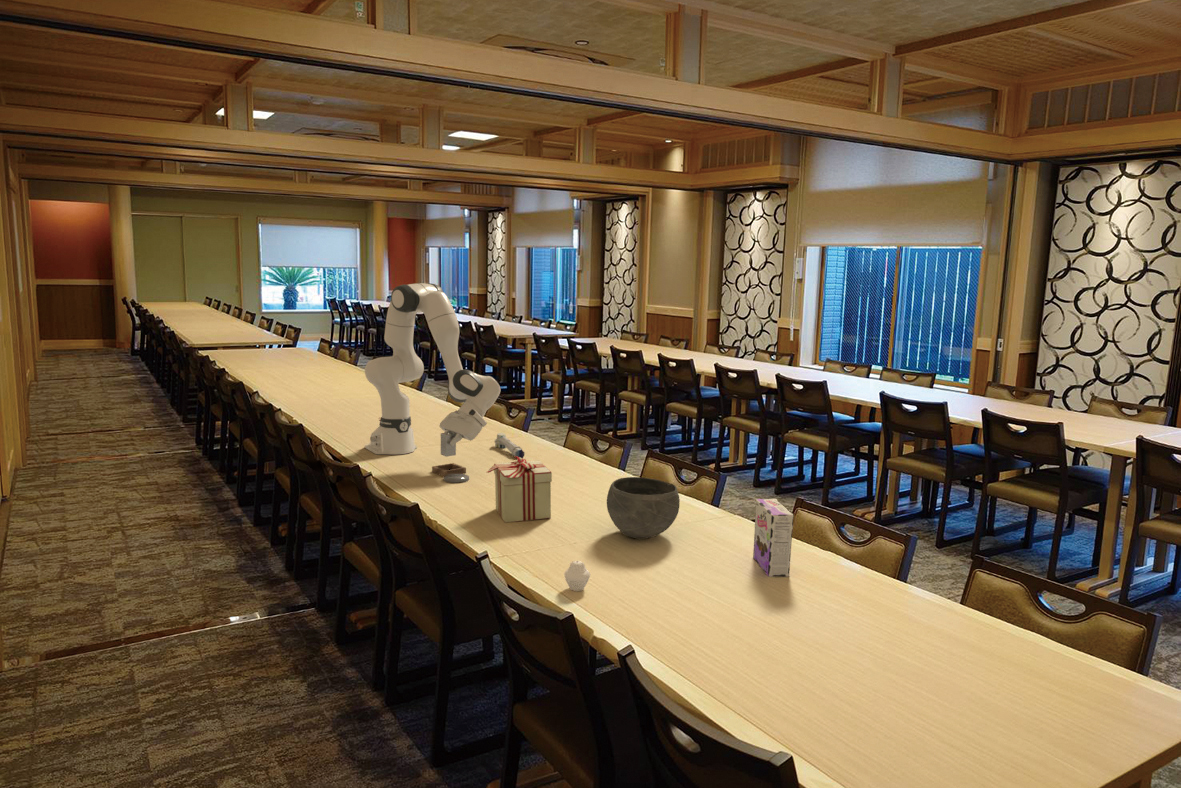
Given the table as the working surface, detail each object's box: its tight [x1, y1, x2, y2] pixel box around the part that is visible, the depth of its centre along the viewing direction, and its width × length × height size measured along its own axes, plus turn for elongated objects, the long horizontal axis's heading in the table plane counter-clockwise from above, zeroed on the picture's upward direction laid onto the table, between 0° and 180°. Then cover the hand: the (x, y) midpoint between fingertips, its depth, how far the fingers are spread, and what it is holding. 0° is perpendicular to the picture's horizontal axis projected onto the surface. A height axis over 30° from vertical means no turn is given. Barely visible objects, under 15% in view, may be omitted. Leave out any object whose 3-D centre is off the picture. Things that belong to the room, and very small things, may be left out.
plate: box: [443, 473, 470, 484], centre depth 286 cm, size 9×9×1 cm
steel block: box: [440, 432, 457, 458], centre depth 294 cm, size 4×4×8 cm
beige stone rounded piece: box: [564, 560, 591, 592], centre depth 191 cm, size 6×6×7 cm
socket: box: [431, 462, 467, 477], centre depth 295 cm, size 9×9×2 cm
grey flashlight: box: [494, 432, 525, 459], centre depth 330 cm, size 5×7×25 cm
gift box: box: [486, 456, 553, 523], centre depth 246 cm, size 17×18×17 cm
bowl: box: [606, 476, 680, 540], centre depth 229 cm, size 21×21×15 cm
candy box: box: [752, 498, 794, 578], centre depth 207 cm, size 14×6×16 cm, turn 5°
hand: (446, 443), depth 293 cm, fingers closed on steel block, 4 cm apart
